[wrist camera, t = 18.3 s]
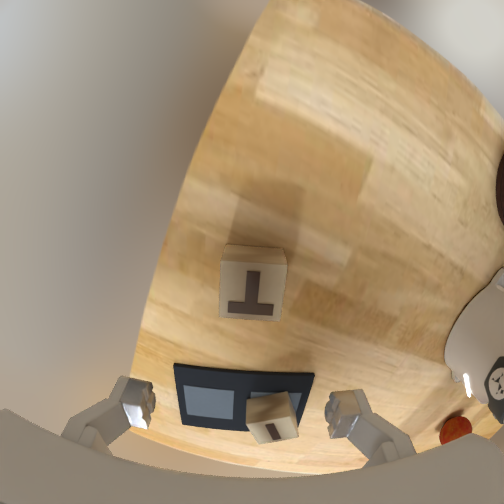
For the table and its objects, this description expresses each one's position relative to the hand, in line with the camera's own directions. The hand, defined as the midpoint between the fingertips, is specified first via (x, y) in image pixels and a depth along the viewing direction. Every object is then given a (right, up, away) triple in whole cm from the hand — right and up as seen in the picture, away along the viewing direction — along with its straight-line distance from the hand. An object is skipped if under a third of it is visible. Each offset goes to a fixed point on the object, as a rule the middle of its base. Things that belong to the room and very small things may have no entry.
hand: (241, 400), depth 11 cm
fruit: (+39, -27, +24) cm, 53 cm away
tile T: (+1, +5, +14) cm, 15 cm away
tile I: (+3, -12, +19) cm, 23 cm away
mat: (-1, -12, +20) cm, 23 cm away
